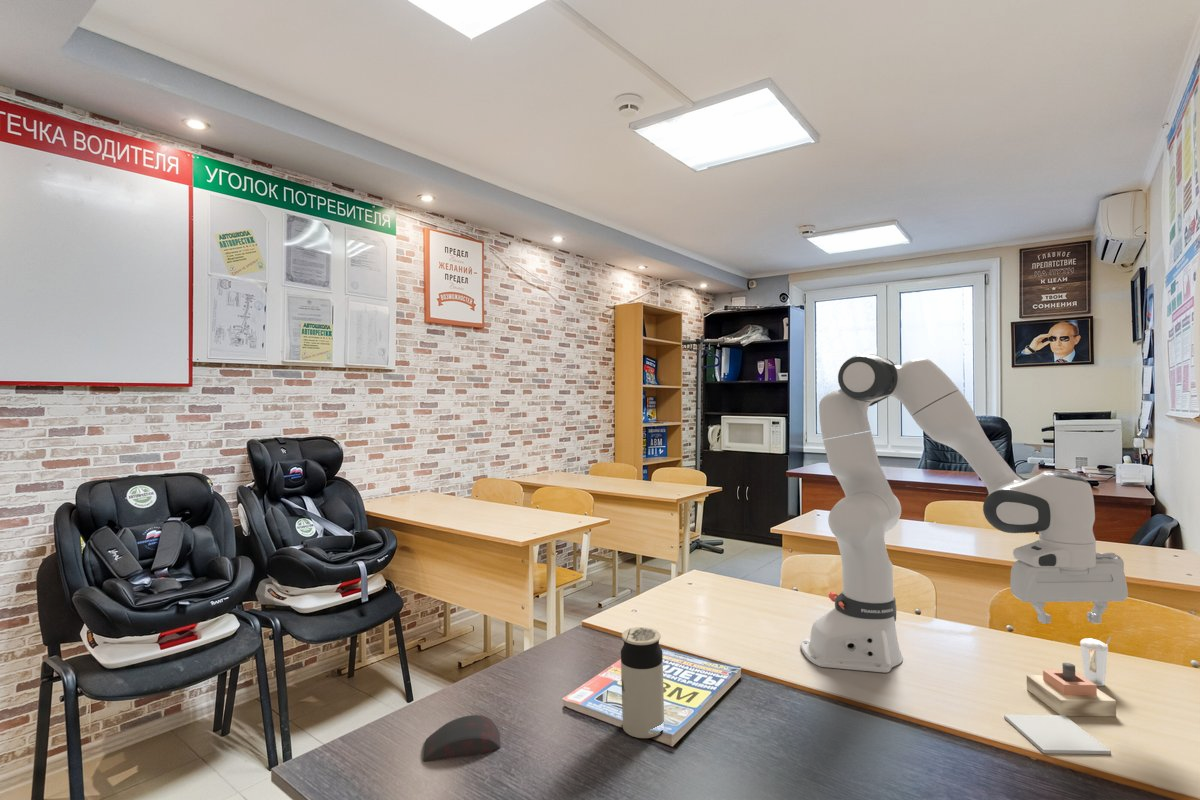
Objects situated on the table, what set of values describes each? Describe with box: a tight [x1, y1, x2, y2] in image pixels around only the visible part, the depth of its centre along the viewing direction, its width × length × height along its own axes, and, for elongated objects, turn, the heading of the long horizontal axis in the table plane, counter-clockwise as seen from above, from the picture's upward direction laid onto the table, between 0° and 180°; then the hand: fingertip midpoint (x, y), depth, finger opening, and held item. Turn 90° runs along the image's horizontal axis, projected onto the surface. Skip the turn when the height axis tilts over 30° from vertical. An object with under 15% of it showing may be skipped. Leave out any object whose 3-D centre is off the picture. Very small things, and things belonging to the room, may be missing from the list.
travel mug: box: [620, 626, 665, 739], centre depth 112 cm, size 8×8×18 cm
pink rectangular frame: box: [1042, 669, 1098, 695], centre depth 117 cm, size 6×6×2 cm
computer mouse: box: [422, 714, 502, 762], centre depth 108 cm, size 8×14×4 cm, turn 102°
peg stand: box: [1026, 662, 1117, 717], centre depth 117 cm, size 10×10×8 cm
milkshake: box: [1079, 636, 1112, 687], centre depth 124 cm, size 5×5×10 cm
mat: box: [1003, 714, 1112, 755], centre depth 106 cm, size 11×11×1 cm
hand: (1069, 622), depth 117 cm, fingers open, 8 cm apart
